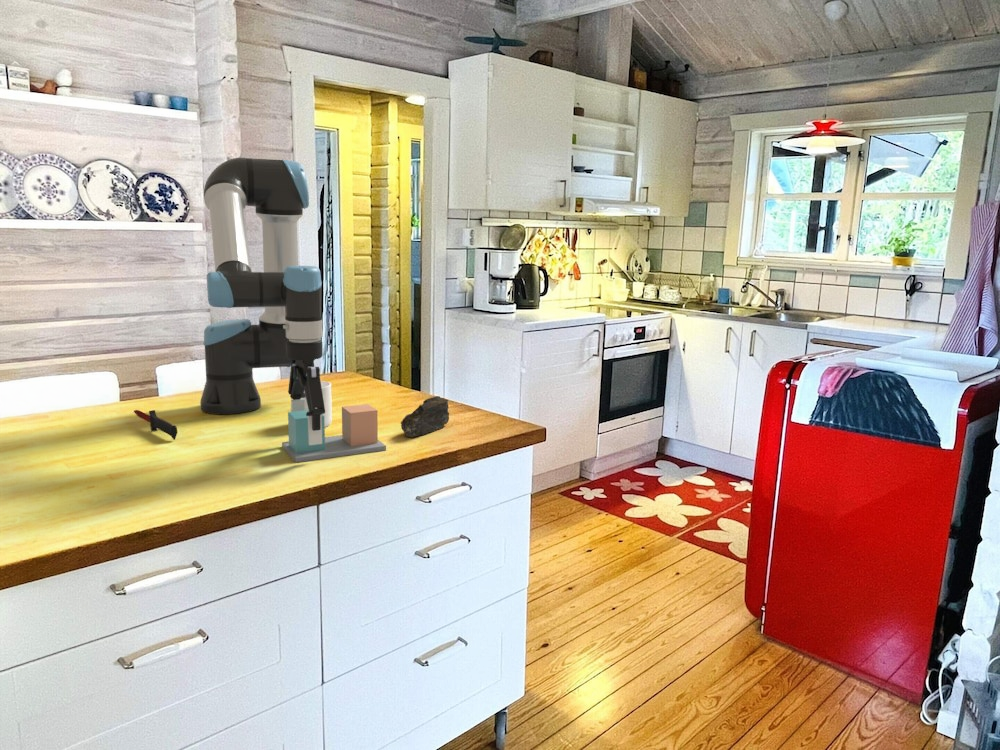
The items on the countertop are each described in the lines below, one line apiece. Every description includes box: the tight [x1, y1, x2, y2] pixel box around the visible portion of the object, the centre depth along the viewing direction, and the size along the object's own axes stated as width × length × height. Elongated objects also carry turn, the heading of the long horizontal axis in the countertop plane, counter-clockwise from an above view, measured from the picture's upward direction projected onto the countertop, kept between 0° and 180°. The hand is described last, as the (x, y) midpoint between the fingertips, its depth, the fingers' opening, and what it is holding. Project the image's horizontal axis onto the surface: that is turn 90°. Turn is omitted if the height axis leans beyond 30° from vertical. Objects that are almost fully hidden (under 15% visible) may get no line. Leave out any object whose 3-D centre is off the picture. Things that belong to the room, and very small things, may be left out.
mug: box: [290, 380, 333, 428], centre depth 175 cm, size 12×8×10 cm
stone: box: [400, 395, 450, 438], centre depth 174 cm, size 7×8×15 cm
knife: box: [133, 409, 178, 441], centre depth 168 cm, size 24×2×5 cm, turn 47°
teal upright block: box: [287, 410, 326, 453], centre depth 155 cm, size 6×6×8 cm
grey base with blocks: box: [281, 403, 387, 463], centre depth 158 cm, size 12×20×9 cm, turn 120°
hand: (306, 435), depth 155 cm, fingers open, 13 cm apart
